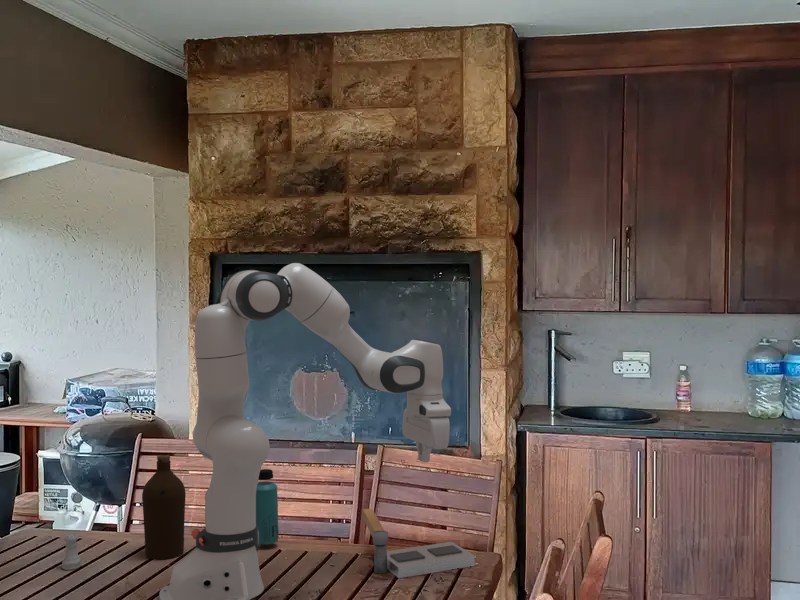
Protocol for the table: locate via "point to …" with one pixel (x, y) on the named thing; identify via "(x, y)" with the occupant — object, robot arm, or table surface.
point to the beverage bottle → (267, 508)
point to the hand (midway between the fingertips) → (423, 461)
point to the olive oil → (164, 512)
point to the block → (421, 559)
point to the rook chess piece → (71, 553)
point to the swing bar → (375, 527)
